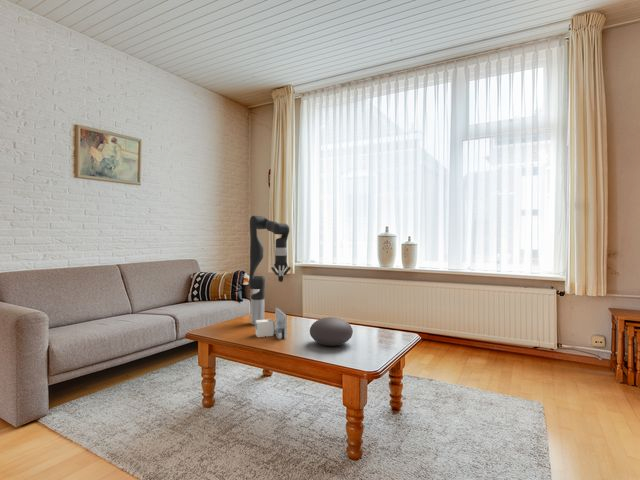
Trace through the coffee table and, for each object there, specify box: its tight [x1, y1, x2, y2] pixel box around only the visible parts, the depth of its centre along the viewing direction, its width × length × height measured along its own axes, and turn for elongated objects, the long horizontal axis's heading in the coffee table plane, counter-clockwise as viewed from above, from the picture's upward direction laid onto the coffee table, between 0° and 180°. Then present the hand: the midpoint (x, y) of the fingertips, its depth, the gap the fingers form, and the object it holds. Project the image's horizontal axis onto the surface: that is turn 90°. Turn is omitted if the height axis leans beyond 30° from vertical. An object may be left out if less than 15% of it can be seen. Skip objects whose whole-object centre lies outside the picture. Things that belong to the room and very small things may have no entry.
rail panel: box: [274, 307, 288, 340], centre depth 225 cm, size 24×5×14 cm, turn 20°
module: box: [254, 318, 275, 338], centre depth 222 cm, size 6×10×10 cm, turn 110°
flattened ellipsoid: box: [309, 316, 354, 347], centre depth 205 cm, size 25×25×15 cm
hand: (280, 281), depth 230 cm, fingers closed
